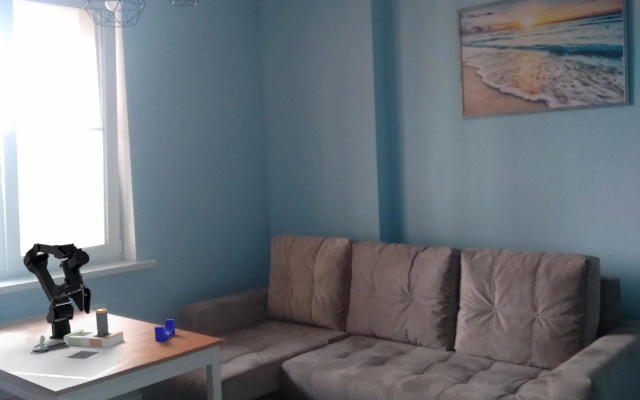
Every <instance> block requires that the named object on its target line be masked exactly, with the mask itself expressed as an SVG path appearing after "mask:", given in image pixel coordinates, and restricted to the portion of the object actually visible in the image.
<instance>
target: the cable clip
mask: <svg viewBox="0 0 640 400" xmlns="http://www.w3.org/2000/svg"><path fill="white" fill-rule="evenodd" d="M174 335H176V325H175V319H174V318H170V319H169V318H167V319H165V325H159V326H158V325H155V326H154V339H155V342H161V343H162V344H163V343H165V342H167V341H168V340H170V339H171V338H172V337H173V336H174ZM171 336H172V337H171Z"/></svg>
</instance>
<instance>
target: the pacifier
mask: <svg viewBox="0 0 640 400" xmlns="http://www.w3.org/2000/svg"><path fill="white" fill-rule="evenodd" d="M45 338H46V337H45V336H44V335H43V334H41V335H40V338H39V343H37V344H36V345H35V346H34V347H33V350H34V352H33V351H32V350H31V351H30V354H31V355H33V354H40V353H42V352H45V351H47V350H49V348H50V347H47V348H44V346H45V345H47V344H46V343H45V340H46V339H45ZM38 347H40V348H41V349H38V350H35V349H36V348H38Z"/></svg>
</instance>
